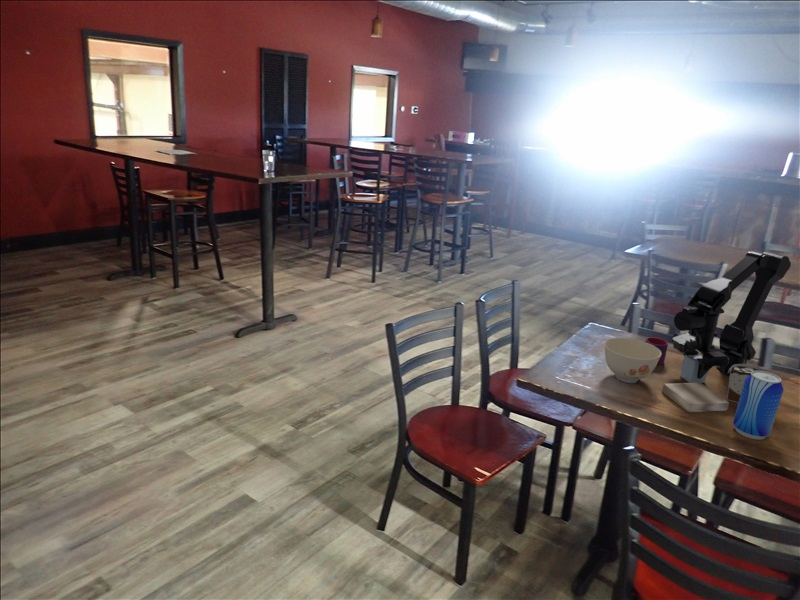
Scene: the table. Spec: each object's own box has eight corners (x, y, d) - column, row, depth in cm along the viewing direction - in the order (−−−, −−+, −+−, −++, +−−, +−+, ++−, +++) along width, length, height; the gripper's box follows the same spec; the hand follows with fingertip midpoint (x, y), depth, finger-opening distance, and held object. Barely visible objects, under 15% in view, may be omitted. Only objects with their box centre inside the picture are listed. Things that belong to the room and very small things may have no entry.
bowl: (599, 384, 171) (605, 353, 168) (598, 363, 186) (603, 334, 183) (657, 394, 167) (664, 363, 164) (652, 372, 182) (658, 342, 178)
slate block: (694, 375, 181) (699, 354, 179) (704, 382, 177) (710, 361, 174) (679, 375, 180) (684, 355, 178) (690, 383, 176) (695, 362, 174)
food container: (770, 402, 167) (779, 370, 163) (770, 411, 161) (779, 378, 158) (721, 390, 172) (729, 359, 169) (720, 398, 167) (729, 366, 164)
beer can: (759, 444, 144) (777, 386, 139) (725, 429, 151) (740, 373, 145) (774, 435, 149) (792, 379, 144) (741, 420, 155) (756, 366, 150)
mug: (638, 359, 190) (642, 340, 188) (649, 351, 198) (653, 333, 195) (659, 366, 186) (664, 347, 184) (670, 358, 193) (674, 339, 191)
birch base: (698, 390, 171) (700, 382, 171) (727, 410, 160) (729, 402, 160) (662, 391, 169) (663, 383, 168) (688, 412, 158) (690, 404, 157)
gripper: (661, 316, 180) (651, 362, 185) (701, 339, 163) (689, 389, 168) (693, 316, 182) (682, 361, 187) (736, 339, 165) (723, 388, 170)
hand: (693, 374), depth 178 cm, fingers closed on slate block, 5 cm apart
